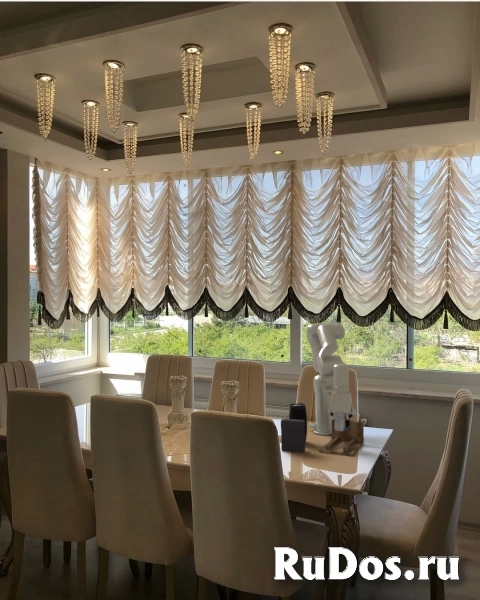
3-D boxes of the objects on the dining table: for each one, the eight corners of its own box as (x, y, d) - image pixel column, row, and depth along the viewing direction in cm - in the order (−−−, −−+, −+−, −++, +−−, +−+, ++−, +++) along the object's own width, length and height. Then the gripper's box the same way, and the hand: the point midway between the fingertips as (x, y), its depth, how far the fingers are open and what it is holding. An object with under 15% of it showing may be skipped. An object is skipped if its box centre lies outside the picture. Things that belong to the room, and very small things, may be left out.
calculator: (305, 450, 256) (305, 419, 256) (303, 453, 252) (303, 421, 252) (283, 448, 259) (282, 418, 259) (281, 451, 255) (280, 420, 255)
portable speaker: (304, 445, 264) (303, 406, 264) (286, 443, 268) (286, 405, 268) (309, 441, 272) (308, 403, 272) (292, 439, 276) (291, 401, 276)
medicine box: (343, 431, 254) (343, 413, 254) (334, 430, 257) (334, 412, 257) (349, 428, 261) (348, 410, 261) (340, 427, 263) (340, 409, 263)
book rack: (319, 452, 253) (318, 428, 253) (332, 440, 272) (332, 419, 272) (352, 456, 246) (352, 431, 246) (363, 444, 265) (363, 421, 265)
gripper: (322, 389, 259) (322, 427, 259) (356, 391, 252) (357, 430, 252) (326, 387, 266) (327, 423, 266) (360, 389, 259) (361, 426, 258)
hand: (341, 426), depth 259 cm, fingers closed on medicine box, 4 cm apart
